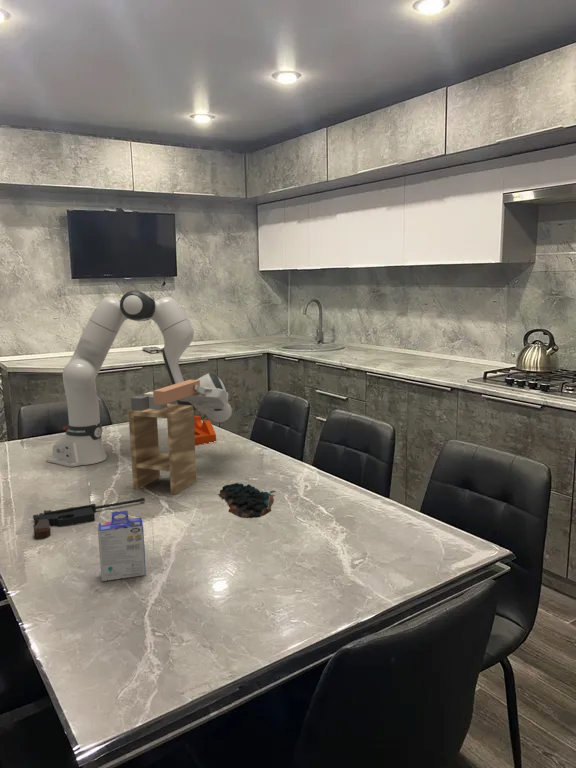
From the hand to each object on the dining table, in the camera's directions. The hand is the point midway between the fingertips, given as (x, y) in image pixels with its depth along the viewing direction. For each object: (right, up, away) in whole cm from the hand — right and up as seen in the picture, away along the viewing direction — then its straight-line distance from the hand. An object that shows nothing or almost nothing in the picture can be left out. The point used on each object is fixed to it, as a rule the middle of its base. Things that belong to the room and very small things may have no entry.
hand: (187, 386), depth 198 cm
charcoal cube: (-14, -7, -8) cm, 17 cm away
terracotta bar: (-2, -3, -5) cm, 7 cm away
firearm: (-22, -38, -30) cm, 53 cm away
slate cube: (-8, -7, -7) cm, 13 cm away
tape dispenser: (-7, -23, +54) cm, 59 cm away
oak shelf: (-7, -33, -3) cm, 33 cm away
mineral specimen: (+22, -35, -17) cm, 45 cm away
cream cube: (-11, -6, -2) cm, 13 cm away
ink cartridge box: (-4, -43, -62) cm, 75 cm away
